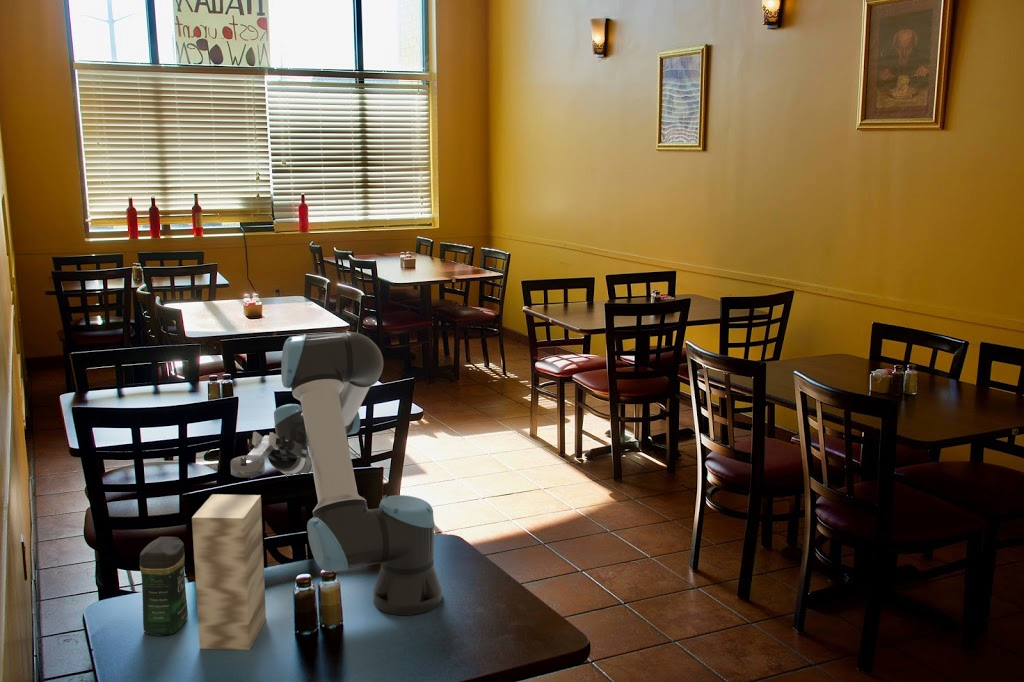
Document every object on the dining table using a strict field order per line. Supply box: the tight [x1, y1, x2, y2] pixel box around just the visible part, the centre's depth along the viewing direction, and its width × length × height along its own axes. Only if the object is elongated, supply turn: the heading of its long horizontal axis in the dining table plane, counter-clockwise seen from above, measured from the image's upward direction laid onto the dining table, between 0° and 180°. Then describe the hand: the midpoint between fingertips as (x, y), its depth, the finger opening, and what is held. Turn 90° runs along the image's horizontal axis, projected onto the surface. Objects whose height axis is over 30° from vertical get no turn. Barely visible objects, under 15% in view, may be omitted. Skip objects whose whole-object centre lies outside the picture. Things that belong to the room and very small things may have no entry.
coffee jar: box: [139, 536, 189, 637], centre depth 188 cm, size 10×8×19 cm
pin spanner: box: [230, 434, 278, 478], centre depth 202 cm, size 22×7×4 cm, turn 0°
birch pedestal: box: [191, 493, 267, 651], centre depth 184 cm, size 10×12×28 cm
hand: (262, 437), depth 206 cm, fingers closed on pin spanner, 3 cm apart
